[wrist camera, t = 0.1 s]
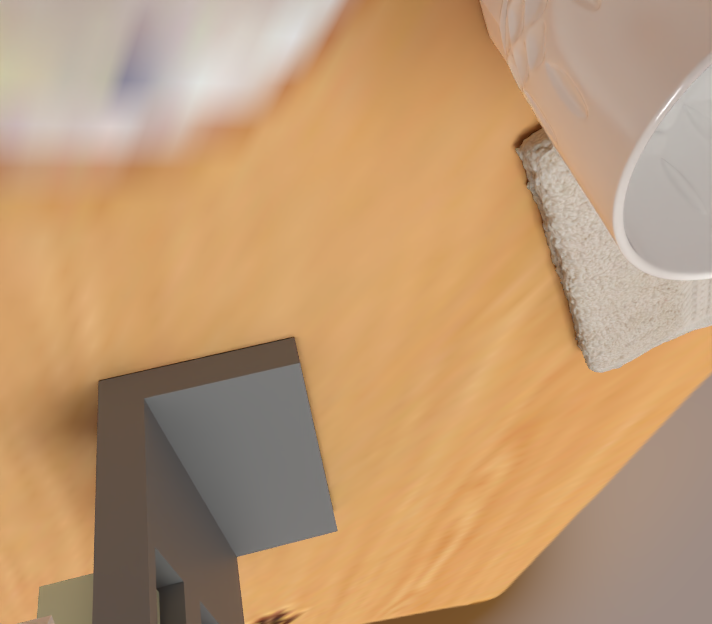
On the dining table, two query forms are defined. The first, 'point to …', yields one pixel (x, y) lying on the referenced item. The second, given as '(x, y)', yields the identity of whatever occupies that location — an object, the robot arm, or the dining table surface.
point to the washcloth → (605, 272)
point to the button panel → (201, 482)
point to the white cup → (624, 114)
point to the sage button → (71, 601)
